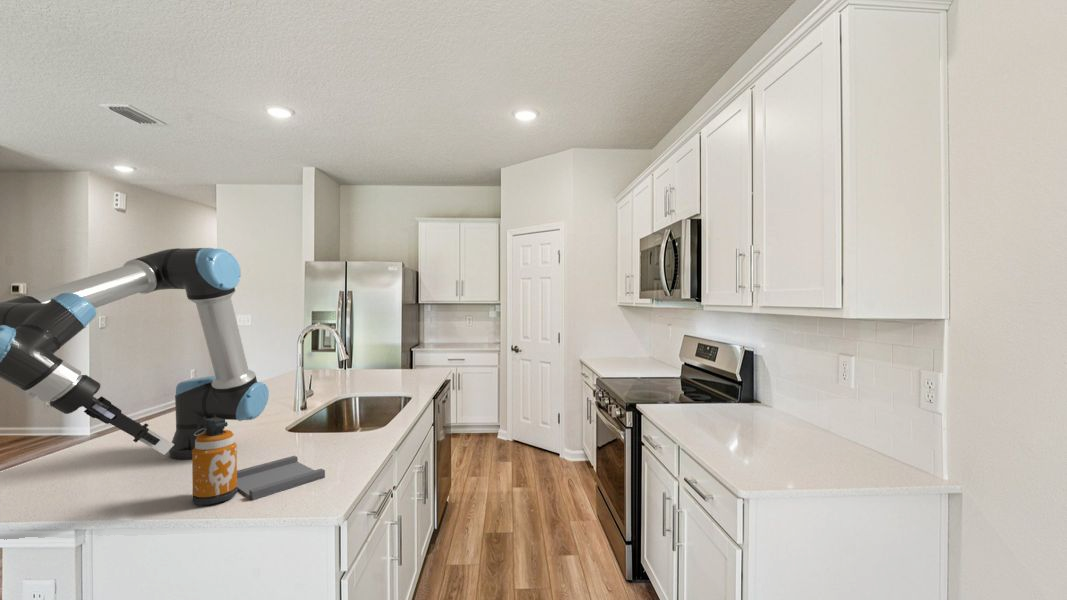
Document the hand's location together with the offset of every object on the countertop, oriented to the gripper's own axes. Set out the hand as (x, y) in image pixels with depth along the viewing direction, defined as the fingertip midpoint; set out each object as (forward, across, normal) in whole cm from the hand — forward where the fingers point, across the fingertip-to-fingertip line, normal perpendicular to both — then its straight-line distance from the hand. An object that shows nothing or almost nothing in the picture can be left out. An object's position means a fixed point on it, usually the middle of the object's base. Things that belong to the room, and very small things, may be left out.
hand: (168, 448), depth 108 cm
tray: (+27, 0, +6) cm, 27 cm away
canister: (+17, 0, -4) cm, 17 cm away
